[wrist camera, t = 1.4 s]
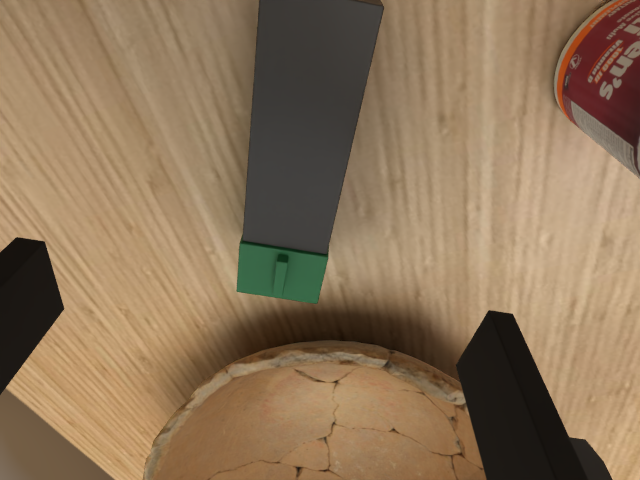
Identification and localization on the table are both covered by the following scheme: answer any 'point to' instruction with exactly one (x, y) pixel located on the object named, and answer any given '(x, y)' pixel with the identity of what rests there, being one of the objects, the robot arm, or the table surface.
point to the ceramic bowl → (320, 420)
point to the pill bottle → (605, 80)
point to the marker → (301, 138)
